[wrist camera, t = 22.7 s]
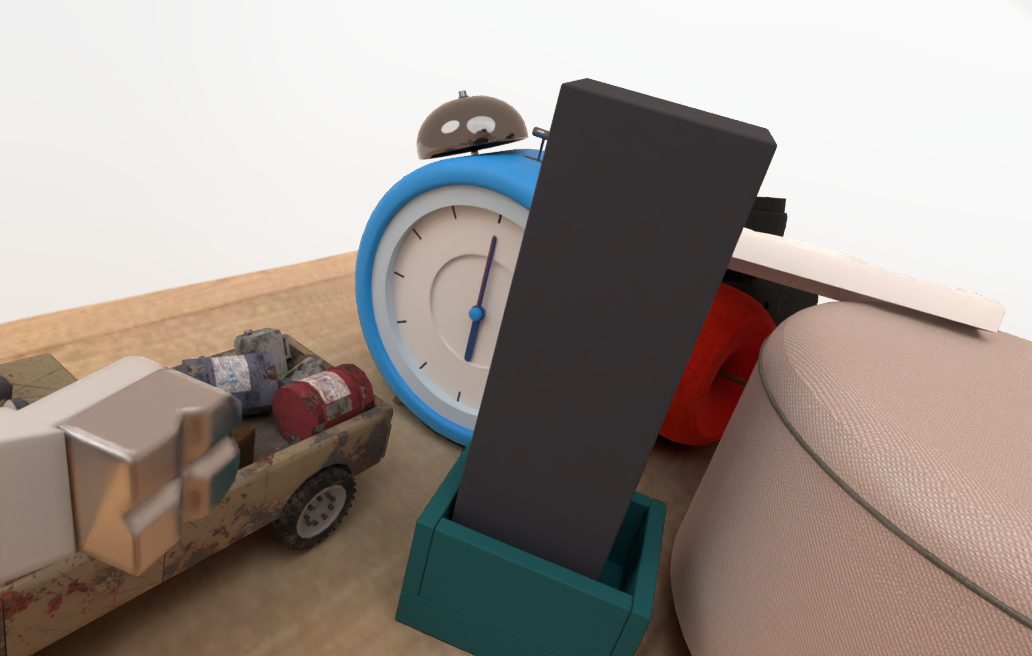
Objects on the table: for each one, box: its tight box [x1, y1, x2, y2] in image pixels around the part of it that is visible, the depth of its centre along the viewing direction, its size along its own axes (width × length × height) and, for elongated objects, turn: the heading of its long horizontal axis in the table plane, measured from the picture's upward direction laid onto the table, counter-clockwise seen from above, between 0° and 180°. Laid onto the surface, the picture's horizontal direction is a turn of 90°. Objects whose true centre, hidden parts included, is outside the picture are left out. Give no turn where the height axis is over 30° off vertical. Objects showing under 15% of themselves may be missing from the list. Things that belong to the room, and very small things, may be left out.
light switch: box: [727, 228, 1005, 333], centre depth 34 cm, size 11×2×19 cm
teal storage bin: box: [395, 439, 666, 656], centre depth 22 cm, size 7×5×4 cm
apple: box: [659, 282, 777, 446], centre depth 36 cm, size 9×9×11 cm
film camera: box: [721, 197, 818, 327], centre depth 48 cm, size 15×10×9 cm
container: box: [670, 301, 1032, 656], centre depth 22 cm, size 18×18×12 cm
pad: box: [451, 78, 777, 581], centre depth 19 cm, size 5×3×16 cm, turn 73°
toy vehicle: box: [0, 328, 393, 656], centre depth 19 cm, size 7×18×8 cm, turn 144°
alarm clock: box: [355, 91, 549, 446], centre depth 30 cm, size 13×6×15 cm, turn 60°
